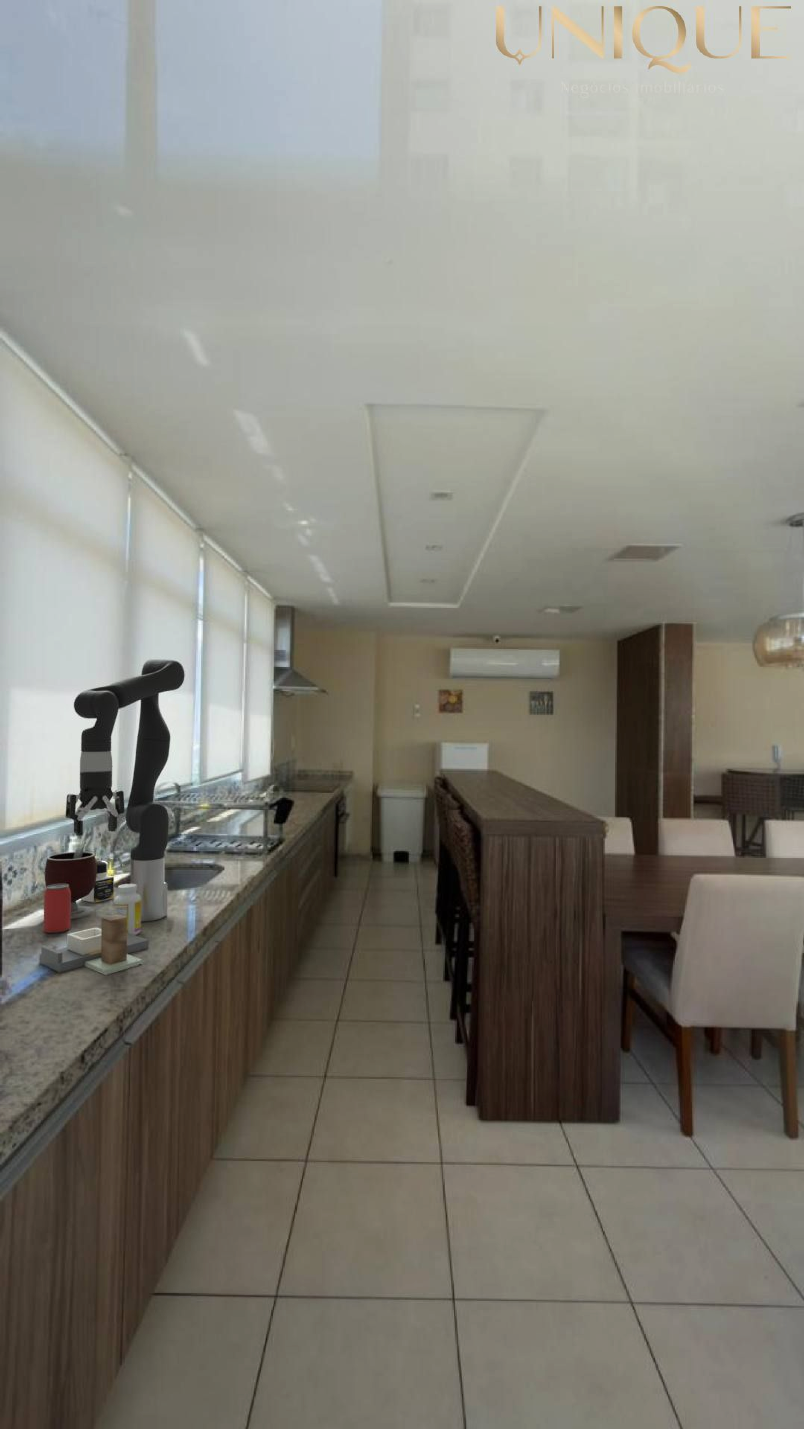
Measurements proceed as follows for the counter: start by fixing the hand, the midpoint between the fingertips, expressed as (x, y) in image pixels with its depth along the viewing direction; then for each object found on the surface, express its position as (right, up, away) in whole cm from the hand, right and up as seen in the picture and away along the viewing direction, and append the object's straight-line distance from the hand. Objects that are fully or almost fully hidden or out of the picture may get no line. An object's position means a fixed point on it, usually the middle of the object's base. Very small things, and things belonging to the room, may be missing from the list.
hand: (95, 833), depth 176 cm
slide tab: (+3, -26, -10) cm, 28 cm away
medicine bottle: (-20, -29, +46) cm, 58 cm away
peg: (+11, -27, -15) cm, 33 cm away
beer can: (-16, -29, +12) cm, 35 cm away
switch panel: (+4, -28, -9) cm, 29 cm away
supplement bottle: (+5, -29, +9) cm, 30 cm away
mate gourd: (-20, -29, +29) cm, 46 cm away
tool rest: (+11, -28, -16) cm, 34 cm away
